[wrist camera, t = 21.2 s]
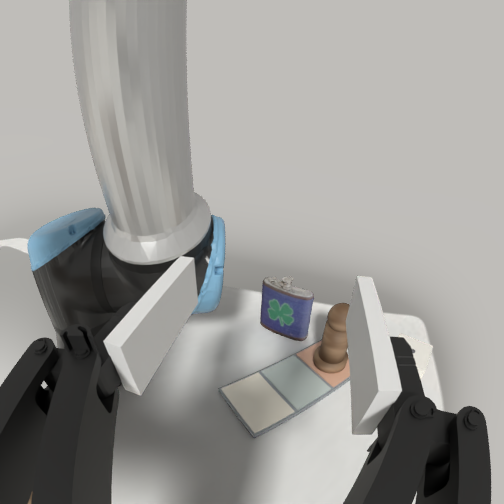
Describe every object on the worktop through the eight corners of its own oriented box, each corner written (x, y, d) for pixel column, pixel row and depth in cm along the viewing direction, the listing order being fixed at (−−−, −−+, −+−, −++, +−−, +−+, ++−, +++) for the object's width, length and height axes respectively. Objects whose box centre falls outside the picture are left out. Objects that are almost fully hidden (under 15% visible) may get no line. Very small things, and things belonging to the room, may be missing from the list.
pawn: (306, 359, 39) (318, 302, 35) (328, 345, 42) (342, 291, 38) (330, 378, 35) (348, 321, 31) (352, 362, 38) (371, 307, 34)
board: (218, 390, 35) (218, 387, 34) (322, 341, 44) (323, 337, 44) (254, 438, 28) (254, 435, 27) (361, 371, 37) (363, 367, 37)
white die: (375, 383, 35) (388, 355, 32) (388, 360, 39) (400, 332, 36) (409, 397, 31) (425, 370, 29) (418, 372, 35) (433, 345, 33)
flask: (309, 335, 46) (318, 282, 41) (301, 344, 44) (309, 290, 39) (265, 316, 51) (267, 265, 46) (256, 324, 48) (257, 272, 44)
